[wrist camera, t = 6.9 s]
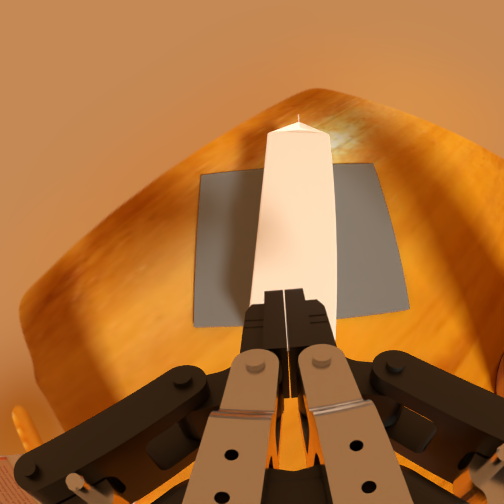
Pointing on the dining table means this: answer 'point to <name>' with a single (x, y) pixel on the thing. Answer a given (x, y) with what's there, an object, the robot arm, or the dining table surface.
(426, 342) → the dining table surface
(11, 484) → the cracker box
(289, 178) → the milk
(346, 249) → the mat
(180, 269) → the dining table surface
